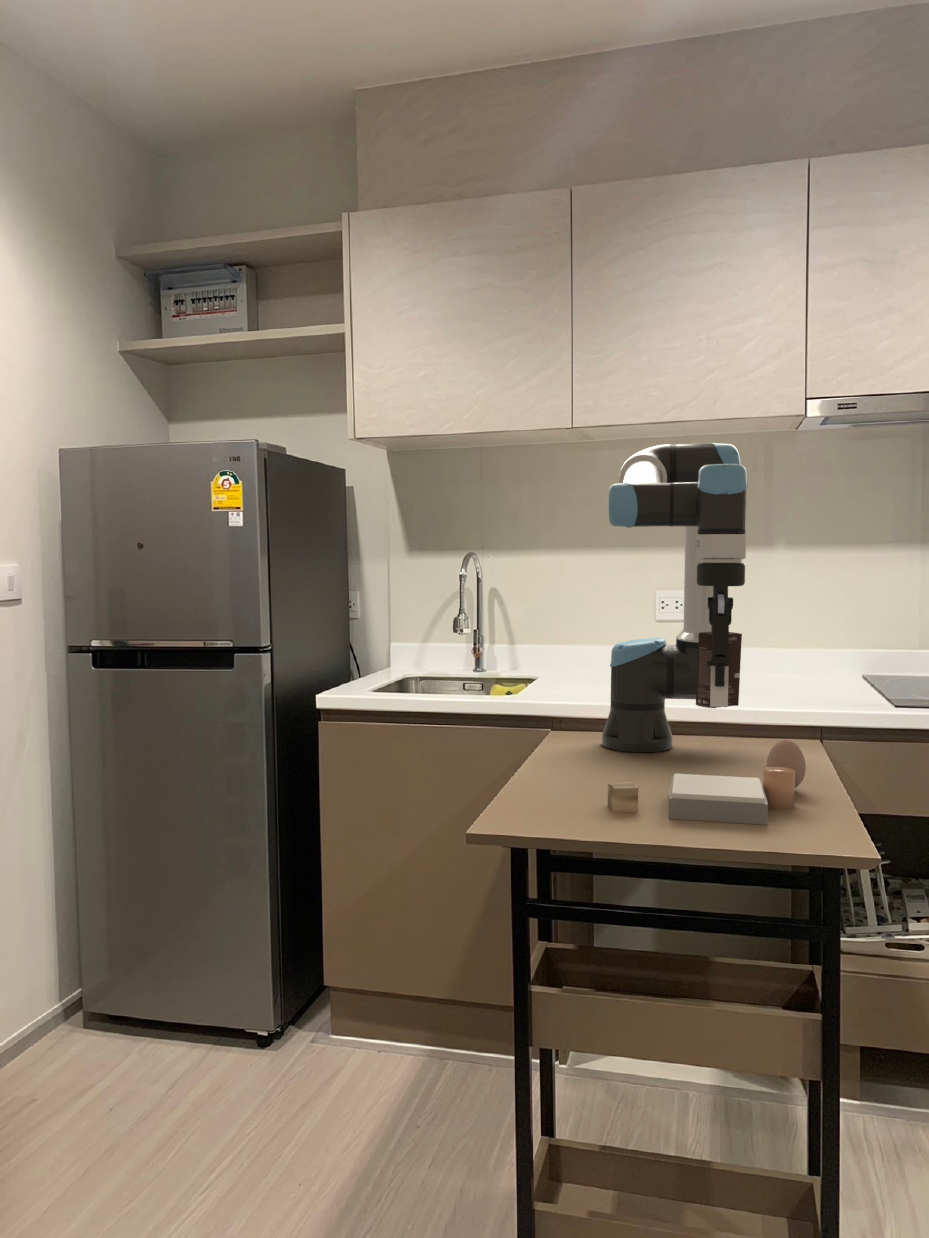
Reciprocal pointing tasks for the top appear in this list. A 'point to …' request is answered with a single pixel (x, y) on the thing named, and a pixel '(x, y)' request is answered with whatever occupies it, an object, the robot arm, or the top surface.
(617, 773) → the top surface
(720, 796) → the podium
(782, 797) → the tan round piece
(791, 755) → the egg
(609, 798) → the oak block
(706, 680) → the box
